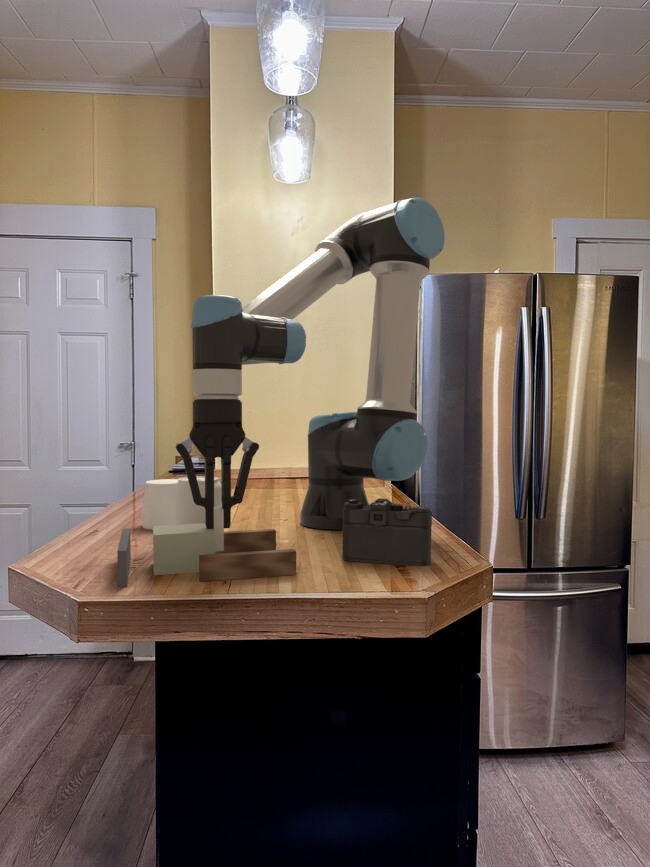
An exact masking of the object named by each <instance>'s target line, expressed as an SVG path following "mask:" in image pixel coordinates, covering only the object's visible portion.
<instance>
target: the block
mask: <svg viewBox="0 0 650 867" xmlns="http://www.w3.org/2000/svg"><path fill="white" fill-rule="evenodd" d="M152 532H153V534H152V537H153V538H152V540H153V542H152V543H153V544H152V545H153V546H152V547H153V548H152V549H153V551H152V552H153V557H152V558H153V576H161V575H177V574H191V573H199V555H207V554H215V531H214V529H207V527H206V525H205V523H203V524H183V525H163V526H153V530H152Z"/></svg>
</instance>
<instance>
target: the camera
mask: <svg viewBox="0 0 650 867" xmlns="http://www.w3.org/2000/svg"><path fill="white" fill-rule="evenodd" d="M358 501H359V500H356V499H349V502H346V503H345V504H344V508H343V529H342V552H341V553H342V555H341V556H342V560H344V561H348V562H353V563H354V562H355V563H370V564H371V563H372V564H381V563H383V565H396V564H397V566H399V565H402V566H410V567H411V566H415V567H426V566H430V564H431V561H432V560H431V558H432V525H433V511H431V507H428V506H423V505H422V506H421V505H420V506H418V505H417V506H411V504H412V502H411V501H406V502H405V504H406V505H405V506H404V504H403V503H393V502H392V501H391V500H390V499H387V498H381V497H378V498H377V499H375V500H373V501H372V502H371V503H369V505H368V506H364V507H363V504H362V503H359V502H358Z"/></svg>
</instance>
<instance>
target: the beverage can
mask: <svg viewBox="0 0 650 867" xmlns="http://www.w3.org/2000/svg"><path fill="white" fill-rule="evenodd" d="M196 478H197V482H198V486H199V490H200V494H201V497H203V498H205V475H204V476H203V475H202V476H200V475H199V476H197V475H196ZM177 479H178V483H177V484H176V486H175V513H176V525H183V524H203V523H205V508H204V507H202V506H199V505H196V504H195V503H194V501H193V497H192V493H191V489H190V485H189V481H188V477H187V476H185V477H184V476H183V477H180V478H177ZM221 506H222V501H221V482H220V478H219V477H217V476H214V507H221Z"/></svg>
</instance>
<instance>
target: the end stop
mask: <svg viewBox="0 0 650 867" xmlns="http://www.w3.org/2000/svg"><path fill="white" fill-rule="evenodd" d="M121 530H122V531H121V534H120V538H119V542H118V547H117V552H116V553H117V587H118V588H123V587H128V583H129V574H130V566H131V559H132V558H131V556H132V554H131V553H132V552H131V551H132V550H131V549H132V548H131V528H130V527H129V528H122V529H121Z"/></svg>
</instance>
